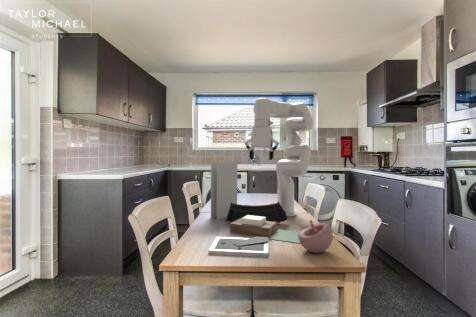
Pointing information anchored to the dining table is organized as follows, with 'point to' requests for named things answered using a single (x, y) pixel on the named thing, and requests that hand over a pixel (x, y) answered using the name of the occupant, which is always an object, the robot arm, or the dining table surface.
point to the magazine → (257, 212)
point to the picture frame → (240, 246)
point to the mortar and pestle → (316, 237)
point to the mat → (286, 236)
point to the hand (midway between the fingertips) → (261, 159)
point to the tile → (253, 220)
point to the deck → (253, 228)
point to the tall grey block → (223, 188)
